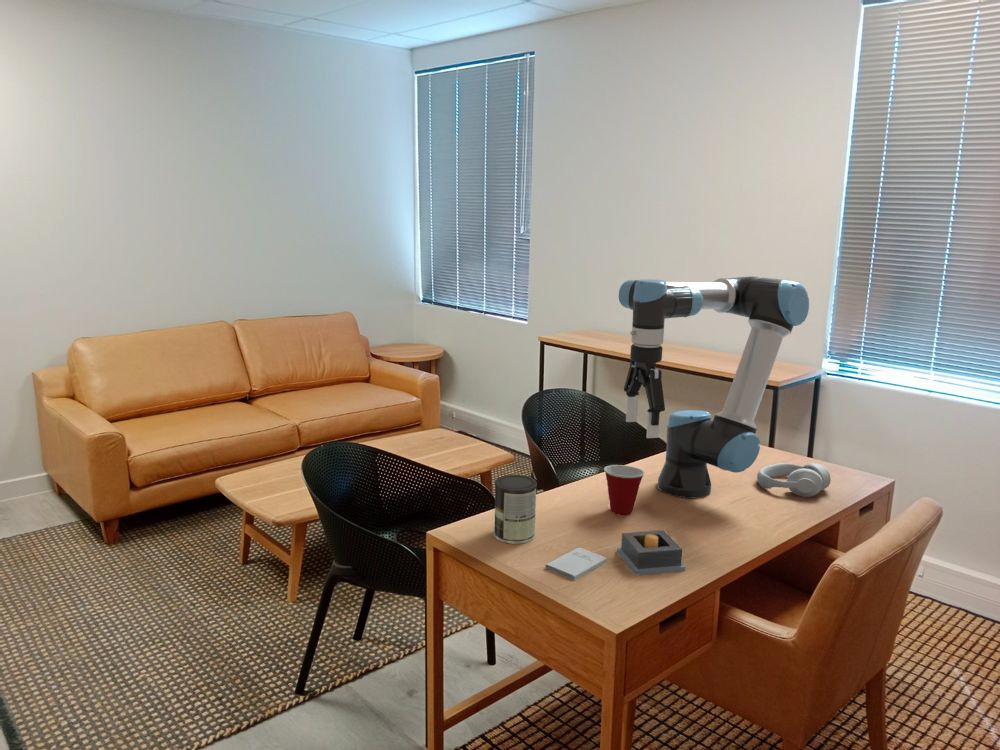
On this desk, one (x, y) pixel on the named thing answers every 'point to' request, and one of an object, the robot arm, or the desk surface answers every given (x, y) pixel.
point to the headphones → (795, 478)
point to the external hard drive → (575, 563)
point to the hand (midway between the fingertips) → (641, 429)
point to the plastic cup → (623, 487)
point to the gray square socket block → (651, 550)
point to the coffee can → (515, 508)
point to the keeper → (649, 543)
